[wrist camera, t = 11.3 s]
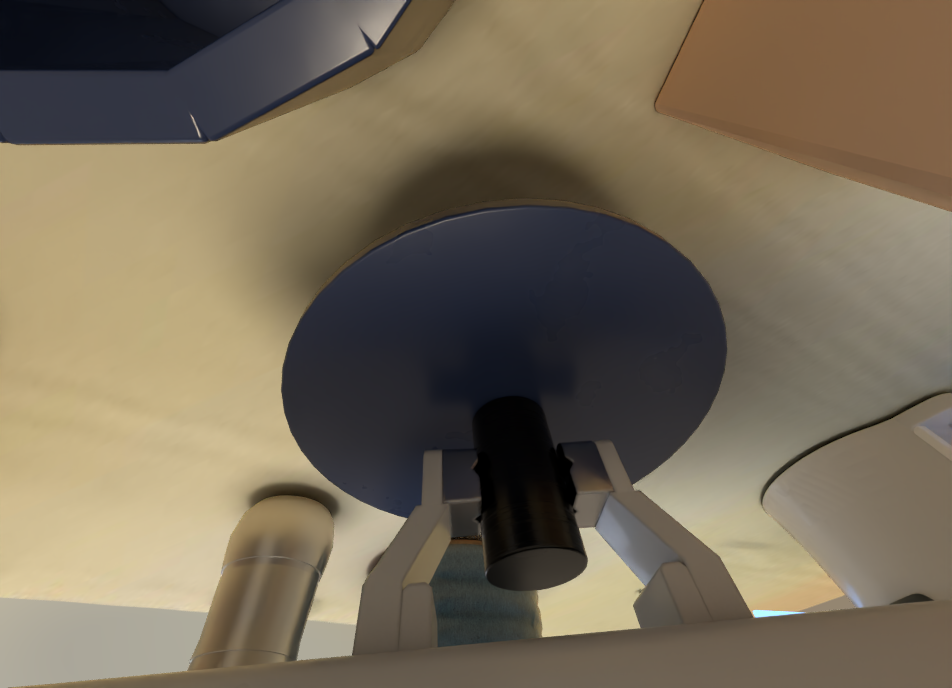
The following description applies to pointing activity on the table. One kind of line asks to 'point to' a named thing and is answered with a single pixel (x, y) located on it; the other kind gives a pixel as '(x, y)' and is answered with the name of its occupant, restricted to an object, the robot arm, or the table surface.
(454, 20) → the table surface
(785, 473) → the robot arm
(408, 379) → the lid
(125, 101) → the pot
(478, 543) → the vase
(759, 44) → the soap dispenser
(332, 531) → the metal water bottle
